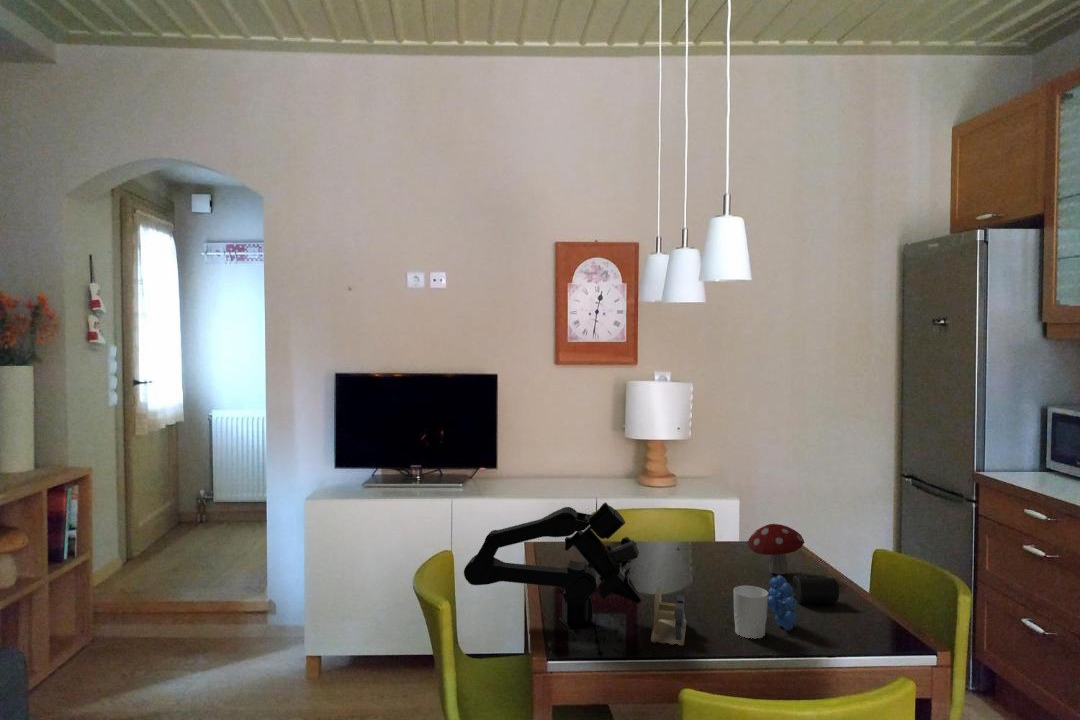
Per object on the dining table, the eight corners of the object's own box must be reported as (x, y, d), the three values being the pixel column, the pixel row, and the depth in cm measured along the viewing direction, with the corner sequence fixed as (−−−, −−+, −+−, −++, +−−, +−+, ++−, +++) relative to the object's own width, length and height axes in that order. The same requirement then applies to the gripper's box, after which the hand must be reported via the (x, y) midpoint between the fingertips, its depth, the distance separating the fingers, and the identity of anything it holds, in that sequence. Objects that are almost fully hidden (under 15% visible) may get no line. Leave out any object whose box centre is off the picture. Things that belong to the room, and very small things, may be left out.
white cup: (747, 642, 167) (748, 599, 167) (725, 629, 175) (726, 587, 174) (774, 637, 170) (775, 594, 170) (752, 624, 178) (753, 583, 177)
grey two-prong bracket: (674, 639, 166) (674, 610, 166) (676, 619, 177) (677, 592, 177) (682, 640, 165) (682, 611, 165) (684, 620, 177) (685, 593, 177)
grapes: (753, 618, 182) (754, 570, 181) (778, 616, 183) (780, 568, 183) (777, 637, 170) (778, 586, 170) (803, 635, 172) (805, 584, 171)
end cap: (800, 607, 190) (801, 581, 189) (790, 597, 197) (791, 572, 196) (839, 607, 190) (840, 582, 190) (827, 598, 197) (828, 573, 197)
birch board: (651, 641, 167) (651, 637, 167) (655, 620, 179) (655, 616, 179) (683, 645, 165) (683, 641, 165) (686, 623, 177) (686, 619, 177)
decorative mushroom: (802, 586, 205) (803, 533, 205) (743, 578, 211) (745, 527, 211) (804, 570, 220) (805, 520, 219) (749, 563, 226) (750, 514, 225)
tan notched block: (653, 632, 169) (654, 597, 169) (656, 619, 177) (657, 586, 176) (673, 634, 168) (674, 599, 168) (675, 621, 176) (676, 588, 175)
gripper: (613, 540, 165) (662, 593, 163) (623, 520, 183) (667, 568, 181) (578, 571, 167) (625, 625, 165) (591, 548, 185) (634, 596, 183)
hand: (639, 601), depth 173 cm, fingers closed
